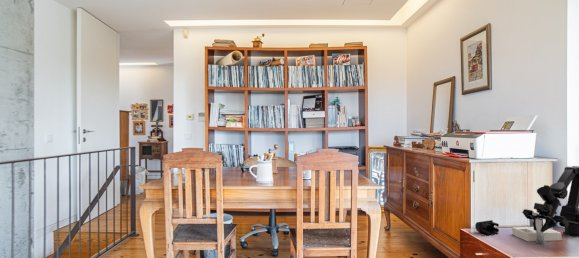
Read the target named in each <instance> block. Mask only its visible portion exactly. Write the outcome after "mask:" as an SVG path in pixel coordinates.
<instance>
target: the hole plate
mask: <svg viewBox="0 0 579 258" xmlns="http://www.w3.org/2000/svg"><path fill="white" fill-rule="evenodd" d="M511 231H512V232H511V233H512V236H515V237H517V238H520V239H522V240H524V241H526V242H537V240H536V230H534V227H530V226H519V227H518V226H517V227H511ZM548 241H549V242H551V241H554V242H555V241H563V240H562V232H559V231H558V230H554V229H553V228H550V229H548V230H546V231H544V242H548Z"/></svg>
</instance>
